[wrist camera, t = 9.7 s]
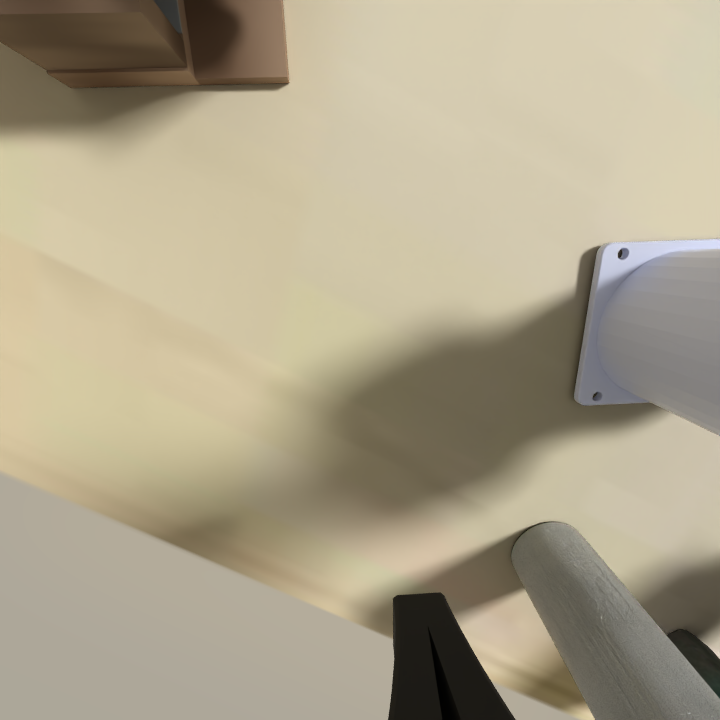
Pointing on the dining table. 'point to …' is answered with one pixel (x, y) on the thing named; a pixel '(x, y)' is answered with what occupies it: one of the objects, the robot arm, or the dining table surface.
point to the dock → (150, 41)
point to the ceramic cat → (698, 657)
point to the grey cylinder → (606, 633)
